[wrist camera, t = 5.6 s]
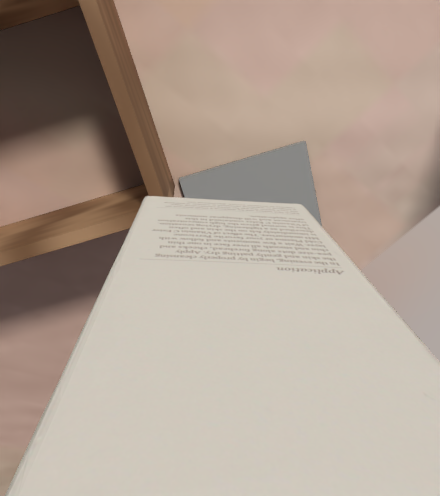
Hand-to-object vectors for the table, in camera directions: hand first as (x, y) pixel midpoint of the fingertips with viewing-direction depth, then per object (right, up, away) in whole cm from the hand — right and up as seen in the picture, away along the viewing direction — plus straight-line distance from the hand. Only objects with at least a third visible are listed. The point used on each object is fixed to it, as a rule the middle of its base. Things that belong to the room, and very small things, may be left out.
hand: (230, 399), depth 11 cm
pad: (+3, +6, +22) cm, 23 cm away
